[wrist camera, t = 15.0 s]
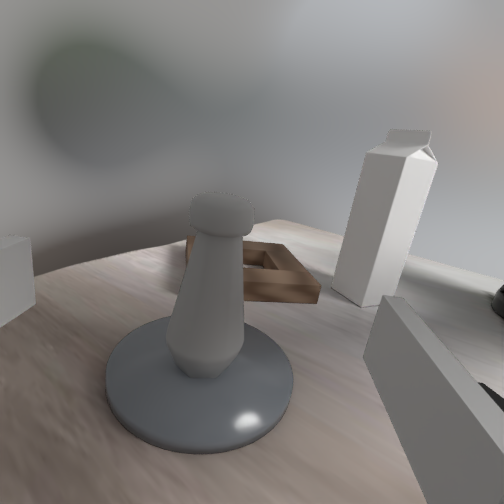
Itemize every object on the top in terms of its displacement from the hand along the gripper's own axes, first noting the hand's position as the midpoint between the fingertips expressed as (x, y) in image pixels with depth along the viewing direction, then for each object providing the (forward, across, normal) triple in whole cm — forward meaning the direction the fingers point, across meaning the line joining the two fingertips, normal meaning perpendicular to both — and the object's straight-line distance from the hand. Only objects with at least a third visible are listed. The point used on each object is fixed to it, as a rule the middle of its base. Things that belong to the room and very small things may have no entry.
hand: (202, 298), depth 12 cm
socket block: (+31, +1, -12) cm, 33 cm away
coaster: (+10, -1, -12) cm, 15 cm away
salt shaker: (+10, -1, -11) cm, 15 cm away
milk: (+30, +17, -12) cm, 37 cm away
